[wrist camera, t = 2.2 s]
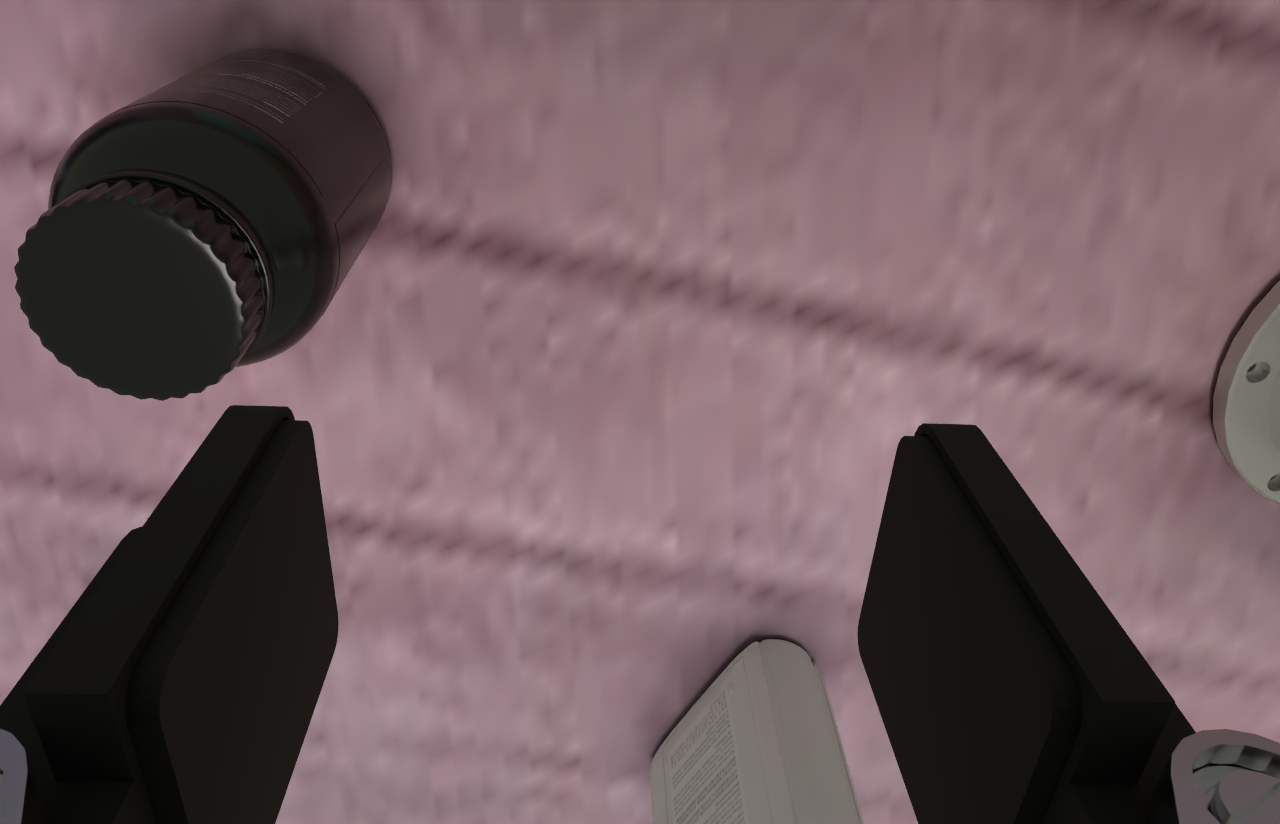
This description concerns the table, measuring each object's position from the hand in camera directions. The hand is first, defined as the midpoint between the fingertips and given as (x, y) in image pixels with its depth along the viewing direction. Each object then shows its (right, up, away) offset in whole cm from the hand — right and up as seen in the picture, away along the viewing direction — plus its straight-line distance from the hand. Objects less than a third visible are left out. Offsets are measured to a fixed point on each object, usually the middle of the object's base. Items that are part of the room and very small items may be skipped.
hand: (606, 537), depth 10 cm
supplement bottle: (-11, +10, +20) cm, 25 cm away
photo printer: (+5, -13, +33) cm, 36 cm away
